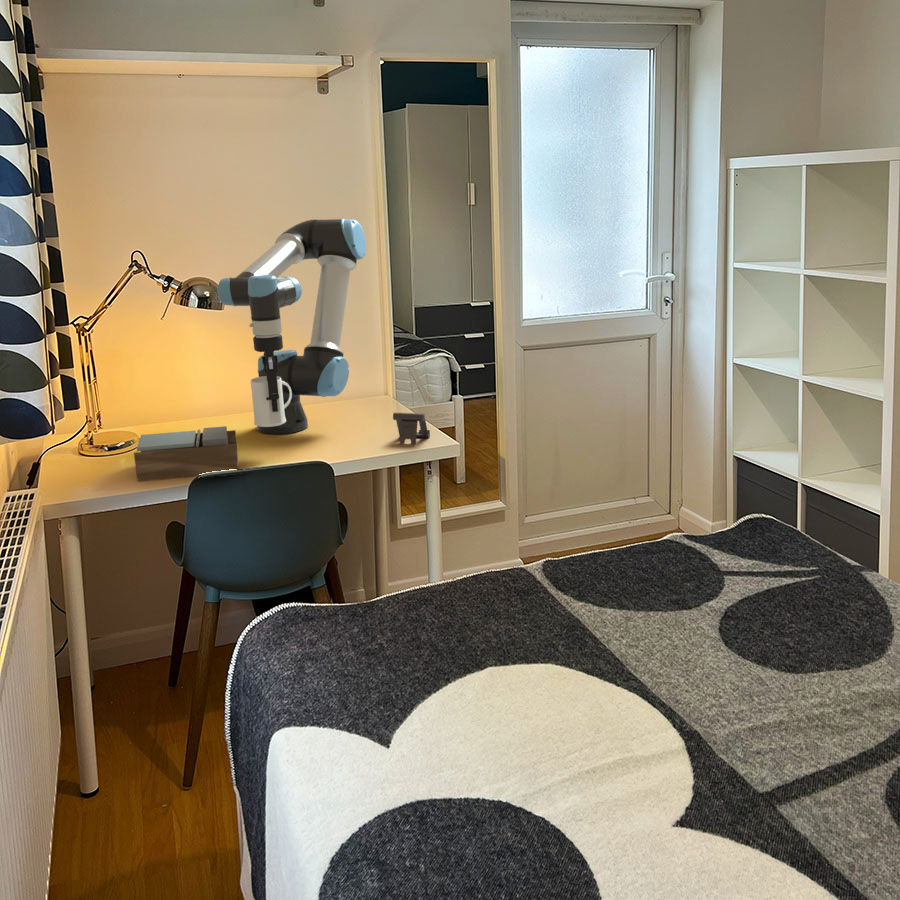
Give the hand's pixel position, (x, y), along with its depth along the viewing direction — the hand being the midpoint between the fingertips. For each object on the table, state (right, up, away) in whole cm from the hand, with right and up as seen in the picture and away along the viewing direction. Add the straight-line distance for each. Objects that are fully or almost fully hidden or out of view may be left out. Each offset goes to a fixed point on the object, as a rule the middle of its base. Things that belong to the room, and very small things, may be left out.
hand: (275, 418), depth 265 cm
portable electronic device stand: (+36, -6, +14) cm, 39 cm away
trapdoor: (-22, -10, -7) cm, 26 cm away
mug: (0, -1, +1) cm, 1 cm away
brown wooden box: (-21, -13, -6) cm, 26 cm away
